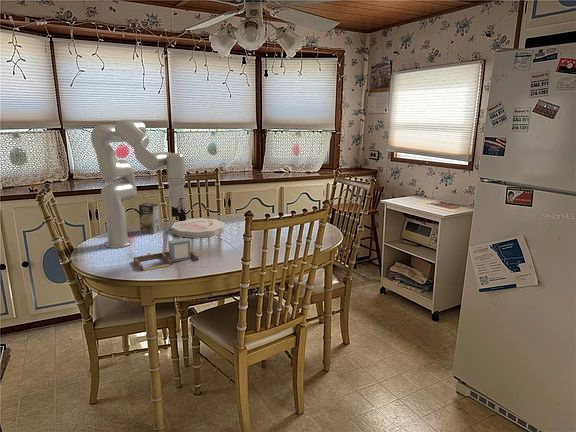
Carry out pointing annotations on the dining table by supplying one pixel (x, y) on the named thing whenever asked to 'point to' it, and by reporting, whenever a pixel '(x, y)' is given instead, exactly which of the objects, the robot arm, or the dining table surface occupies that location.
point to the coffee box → (149, 218)
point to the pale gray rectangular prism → (179, 249)
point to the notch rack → (154, 256)
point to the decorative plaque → (198, 228)
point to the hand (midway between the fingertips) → (178, 218)
